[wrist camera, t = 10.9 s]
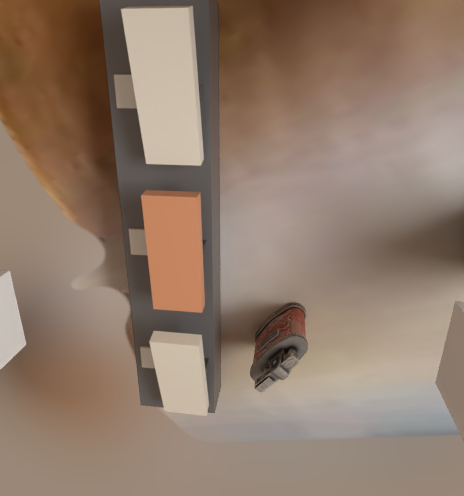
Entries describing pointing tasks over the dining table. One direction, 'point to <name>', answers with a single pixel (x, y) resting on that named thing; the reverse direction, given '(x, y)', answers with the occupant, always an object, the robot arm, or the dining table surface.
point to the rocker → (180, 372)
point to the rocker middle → (174, 249)
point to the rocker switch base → (167, 179)
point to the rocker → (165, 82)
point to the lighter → (279, 346)
